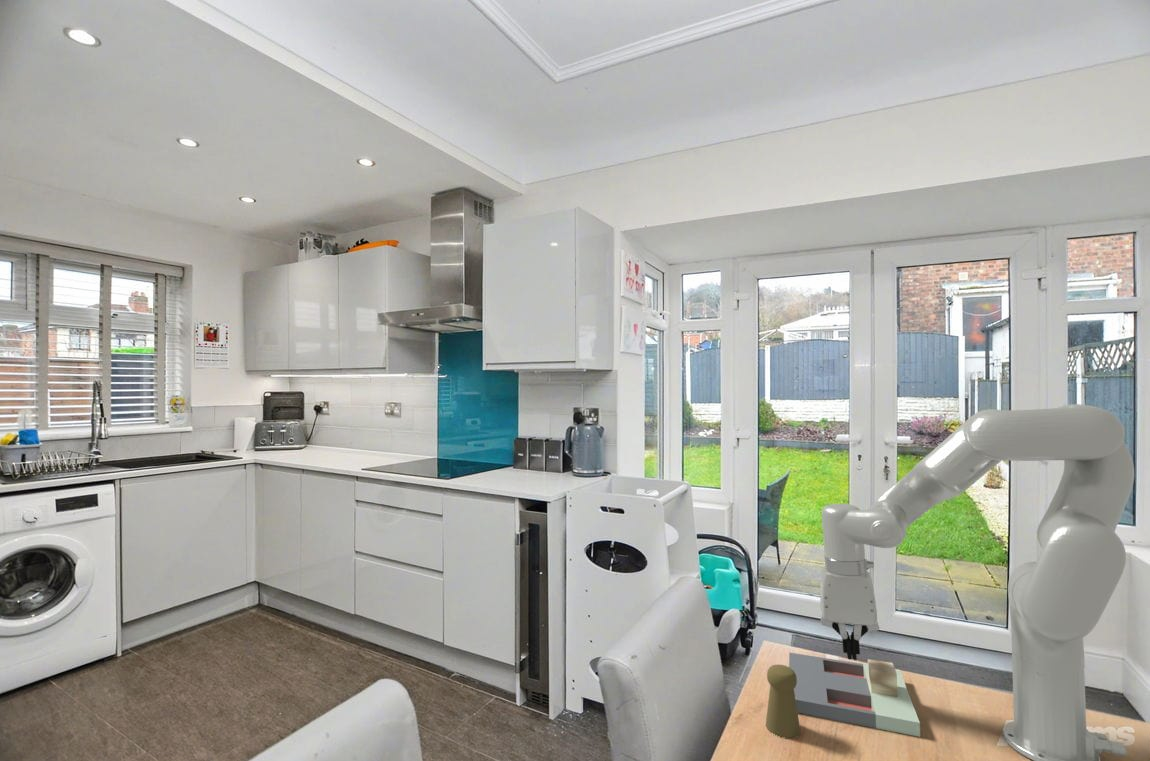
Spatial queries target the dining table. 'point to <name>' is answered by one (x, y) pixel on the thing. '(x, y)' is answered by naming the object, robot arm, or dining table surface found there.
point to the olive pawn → (782, 702)
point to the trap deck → (850, 695)
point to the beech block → (882, 678)
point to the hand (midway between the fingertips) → (851, 656)
